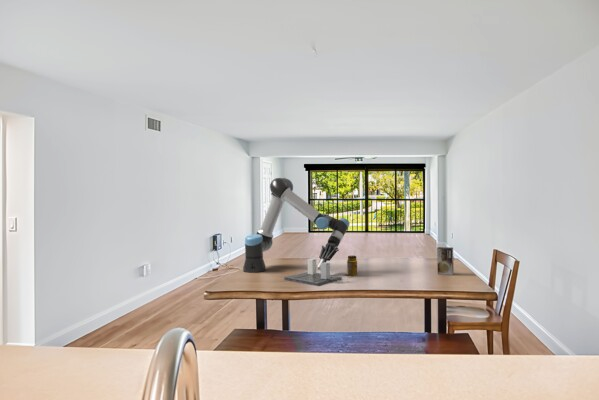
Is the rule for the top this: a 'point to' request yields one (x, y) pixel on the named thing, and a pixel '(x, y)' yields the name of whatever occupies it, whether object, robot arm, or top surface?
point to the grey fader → (325, 270)
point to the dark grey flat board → (311, 279)
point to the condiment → (351, 267)
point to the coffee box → (445, 260)
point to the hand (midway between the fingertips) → (318, 268)
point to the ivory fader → (312, 266)
